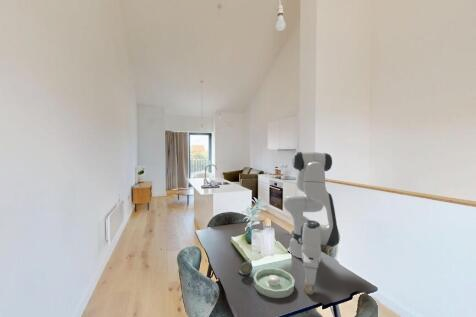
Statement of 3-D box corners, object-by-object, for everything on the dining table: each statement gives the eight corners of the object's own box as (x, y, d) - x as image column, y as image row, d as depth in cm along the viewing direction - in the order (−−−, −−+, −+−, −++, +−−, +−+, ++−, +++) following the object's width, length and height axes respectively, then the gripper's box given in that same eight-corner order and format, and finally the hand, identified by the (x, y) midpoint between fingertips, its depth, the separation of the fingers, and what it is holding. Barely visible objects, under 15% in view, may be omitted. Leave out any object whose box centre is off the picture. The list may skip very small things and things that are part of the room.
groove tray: (259, 271, 128) (259, 265, 128) (295, 278, 122) (296, 272, 122) (249, 292, 110) (249, 285, 109) (291, 302, 103) (292, 295, 103)
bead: (304, 288, 114) (304, 278, 114) (313, 290, 112) (314, 280, 112) (303, 293, 110) (304, 283, 110) (313, 295, 108) (313, 285, 108)
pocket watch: (243, 267, 132) (243, 250, 131) (255, 273, 127) (255, 255, 126) (234, 273, 126) (234, 255, 125) (246, 279, 120) (246, 261, 120)
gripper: (305, 246, 121) (304, 271, 121) (303, 264, 101) (302, 294, 102) (317, 248, 119) (316, 274, 119) (318, 266, 99) (317, 297, 100)
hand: (310, 283), depth 110 cm, fingers open, 8 cm apart
